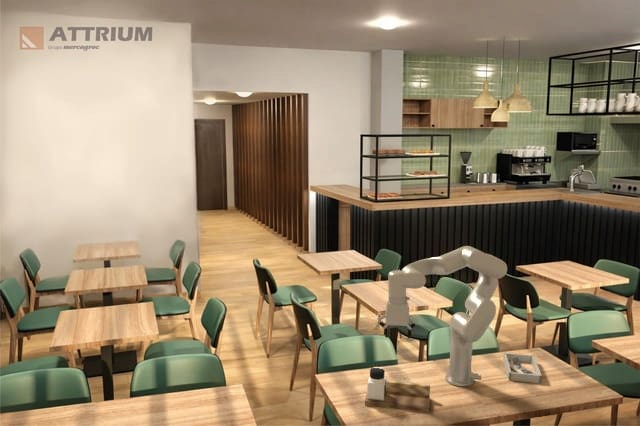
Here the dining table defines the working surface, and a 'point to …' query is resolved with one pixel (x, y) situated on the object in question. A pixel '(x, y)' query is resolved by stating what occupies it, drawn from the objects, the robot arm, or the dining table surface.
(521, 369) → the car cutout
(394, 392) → the board
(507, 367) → the grey tray
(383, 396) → the medicine bottle
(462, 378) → the robot arm
